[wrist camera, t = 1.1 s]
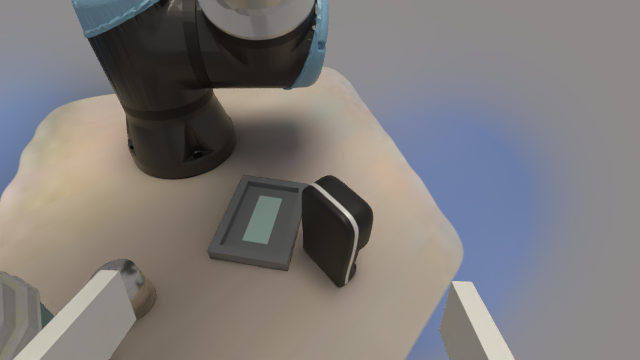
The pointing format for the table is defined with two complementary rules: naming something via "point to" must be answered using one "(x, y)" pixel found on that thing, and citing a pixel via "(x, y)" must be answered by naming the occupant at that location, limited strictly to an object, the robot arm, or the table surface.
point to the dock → (260, 223)
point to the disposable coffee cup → (19, 315)
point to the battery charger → (334, 226)
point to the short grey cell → (133, 285)
